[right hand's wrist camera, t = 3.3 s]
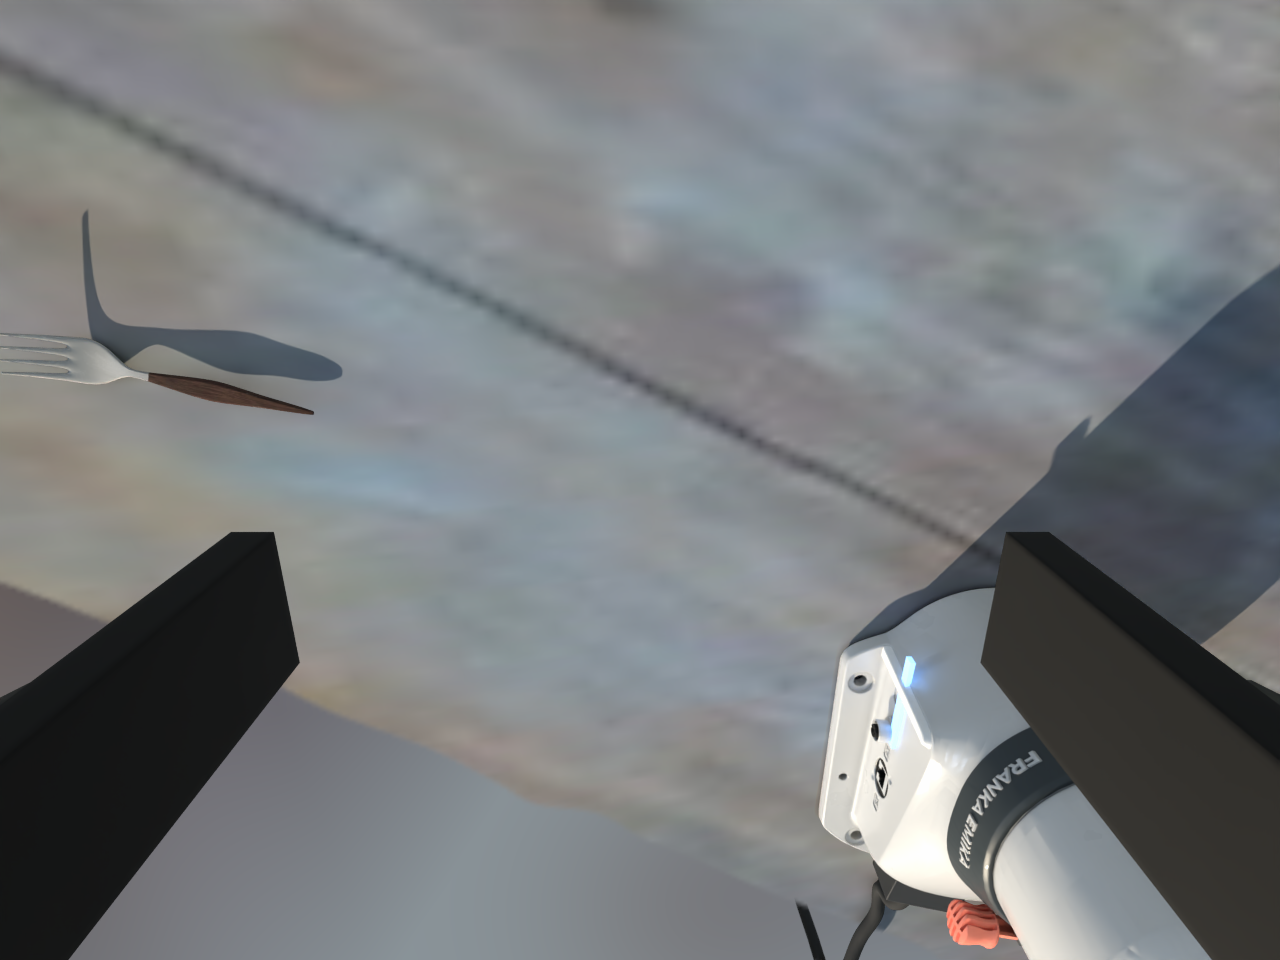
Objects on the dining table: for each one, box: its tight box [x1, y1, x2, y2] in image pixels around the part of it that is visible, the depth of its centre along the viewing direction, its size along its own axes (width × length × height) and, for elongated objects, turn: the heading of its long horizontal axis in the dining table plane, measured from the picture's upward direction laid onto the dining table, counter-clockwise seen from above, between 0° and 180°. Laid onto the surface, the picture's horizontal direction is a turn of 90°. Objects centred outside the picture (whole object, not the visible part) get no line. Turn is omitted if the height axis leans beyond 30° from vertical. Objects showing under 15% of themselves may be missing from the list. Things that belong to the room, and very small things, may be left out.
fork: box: [0, 333, 314, 415], centre depth 38 cm, size 3×16×2 cm, turn 77°
